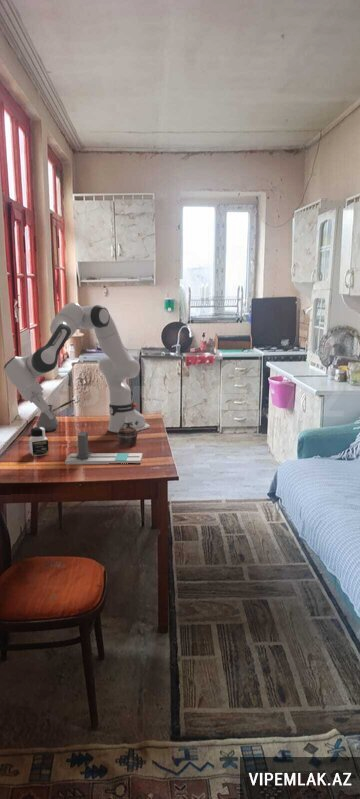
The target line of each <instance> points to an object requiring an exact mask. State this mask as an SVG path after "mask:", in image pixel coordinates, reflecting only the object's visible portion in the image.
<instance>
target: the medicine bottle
mask: <svg viewBox="0 0 360 799" xmlns="http://www.w3.org/2000/svg"><path fill="white" fill-rule="evenodd" d="M28 444H29V453H30V455H31V456H32V457H38V456H39V457H40V456H47V455H50V450H49V449H50V448H49V439H48V438H47V437H46V431H45V429H44V428H43V427H37V426H35V427H33V428H31V429H30V437H28Z"/></svg>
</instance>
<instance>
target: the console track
mask: <svg viewBox="0 0 360 799" xmlns="http://www.w3.org/2000/svg"><path fill="white" fill-rule="evenodd" d="M77 455H78V453H70V454H69V455H68V456H67V457H66V459H65V461H64V464H65V465H110V464H109V463H121V464H120V465H129V464H128V463H142V461H141V460H143V457H144V456H143V455H144V454H143V452H137V453H136V452H133V453H131V452H130V453H129V452H119V453H118V452H115V453H114V452H113V453H105V452H102V453H99V452H98V453H97V452H96V453H93V452H91V455H90V456H89V458H88V459H76V456H77ZM122 463H123V464H122ZM124 463H125V464H124ZM126 463H127V464H126Z"/></svg>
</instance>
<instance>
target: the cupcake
mask: <svg viewBox="0 0 360 799" xmlns="http://www.w3.org/2000/svg"><path fill="white" fill-rule="evenodd" d="M138 434H139V433H138V431H137V430H136V428H135V427H134V424H133V422H130V423H123V424H122V427H121V428H120V429H119V432H118V433H117V437H118V442H119V445H121V446H126V447H127V446H134V445H136V444H137V441H138Z"/></svg>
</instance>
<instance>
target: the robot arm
mask: <svg viewBox="0 0 360 799" xmlns="http://www.w3.org/2000/svg"><path fill="white" fill-rule="evenodd" d="M77 330H94V333H95V336H96V339H97V342H98V344H99V347H100V350H101V351H102V352H103V353H104V355H106V356H104V357H102V358H101V359H100V361H99V364H98V367H99V371H100V372H101V373H102V374H103V376H104V378H105V380H106V383H107V387H108V392H109V404H108V406H109V407H108V409H109V423H108V428H107V430H108V431H109V432H111V433H117V434H118V432H119V429H120V428H121V427H122V424H123V423H130V422H133V424H134V427H135V428H136V430H137V432H139V431H142V430H145V429H149V428H151V427H150V424H149V423H147V422H146V419H145V416H144V415H143V414H142V413H140V412H139V411H138V410H136V409H137V408H138V407H139V404H137V403H133V402H132V392H131V390H132V389H131V387H130V386H129V385H128V383H127V382H126V380H127V379H130V380H131V379H135V378H137V377H138V376H139V374H140V371H141V365H140V363H139V361H138V360H137V359H136V358H134V357H133V356H132V355H131V354H130V353H129V351H128V349H127V348H126V347H125V344H124V343H123V341H122V338H121V336H120V333H119V330H118V328H117V325H116V323H115V320H114V319H113V317H112V315H111V314H110V313H109V311H108V308H106V307H105V306H103V305H99V304H96V305H95V304H94V305H89V304H88V305H83V306H81V305H80V304H79V303H77V302H73V301H72V302H68V303H67V304H66V305H64V306H62V308H61V309H60V310H59V311H58V312H57V314H56V315H55V317H53V320H52V321H51V323H50V325H49V332H50V334H51V336H50V338H49V339H48V341H47V342H46V344H45V345H43V346H41V347H39V348H38V349H37V350H36V351H34V352H33V354H31V355H26V356H17V355H13V357H11V358H10V359H9V360H8V361H7V362H6V363H5V364H4V365H3V371H4V373H5V375H6V376H7V378H8V380H9V382H11V384H12V385H14V386H15V388H16V389H17V392H18V393H19V395H20V396H21V397H22V398H23V400H24V401H25V402H28V401H29V402H30V403H33V404H34V405H35V406H36V407H37V409H39V411H40V413H41V412H42V413H44V412H45V414H46V415H47V416H48V417H49V418H50V419H53V418H54V417H53V415H52V414H51V412H50V411H49V409H50V407H49V406H48V405H49V404H48V403H47V402H46V401H45V398H44V397H43V395H44V393H43V392H42V391H44V388H43V387H42V385H41V383H39V381H38V378H41V377H42V376H44V375H46V374H47V373H49V372H52V371H53V370H55V369H56V367H57V365H58V360H59V354H60V352H61V351H62V349H63V347H64V346H65V344H66V342H67V341H69V339H71V338H72V337H73V335H75V333H76V332H77ZM125 379H126V380H125ZM135 408H136V409H135Z"/></svg>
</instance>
